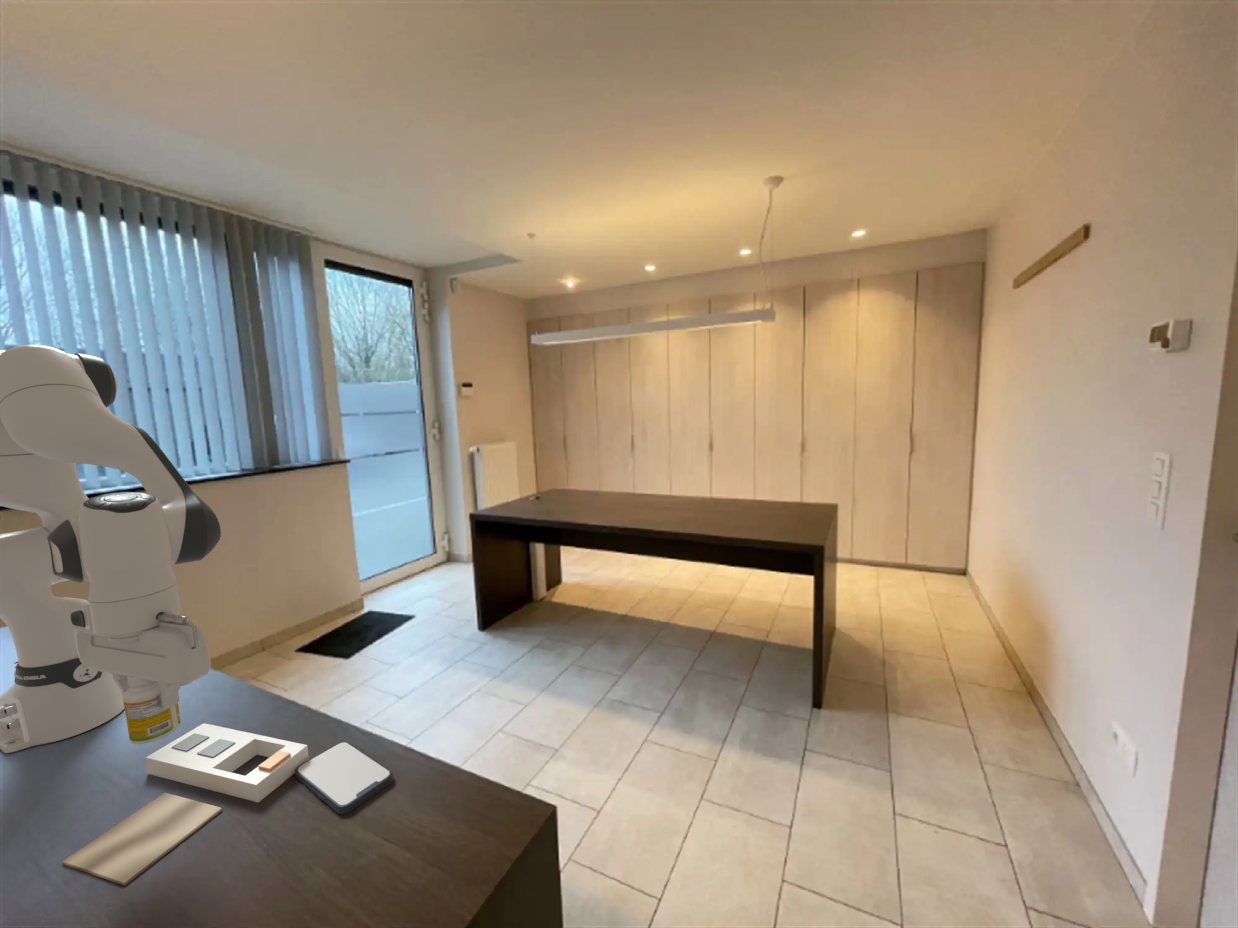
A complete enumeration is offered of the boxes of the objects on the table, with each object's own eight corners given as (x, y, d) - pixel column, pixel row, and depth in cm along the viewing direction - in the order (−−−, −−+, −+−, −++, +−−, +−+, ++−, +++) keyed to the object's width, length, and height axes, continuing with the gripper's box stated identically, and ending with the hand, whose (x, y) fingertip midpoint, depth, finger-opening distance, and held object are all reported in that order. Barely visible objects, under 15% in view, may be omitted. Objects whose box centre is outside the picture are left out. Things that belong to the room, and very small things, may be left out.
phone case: (291, 778, 81) (341, 820, 72) (290, 769, 81) (340, 810, 72) (346, 746, 89) (397, 781, 80) (345, 738, 88) (396, 772, 80)
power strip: (148, 773, 82) (145, 754, 81) (205, 737, 91) (203, 720, 90) (258, 802, 76) (255, 781, 75) (309, 760, 84) (307, 742, 84)
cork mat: (62, 863, 66) (62, 860, 66) (165, 794, 77) (164, 792, 77) (124, 885, 63) (124, 882, 63) (222, 810, 74) (221, 807, 74)
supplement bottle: (151, 722, 73) (142, 660, 72) (190, 719, 73) (182, 658, 72) (118, 747, 68) (108, 681, 66) (161, 744, 68) (151, 678, 67)
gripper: (218, 607, 68) (229, 699, 70) (114, 594, 74) (127, 680, 75) (166, 627, 62) (181, 727, 64) (57, 612, 68) (73, 705, 69)
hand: (151, 702), depth 70 cm, fingers closed on supplement bottle, 5 cm apart
